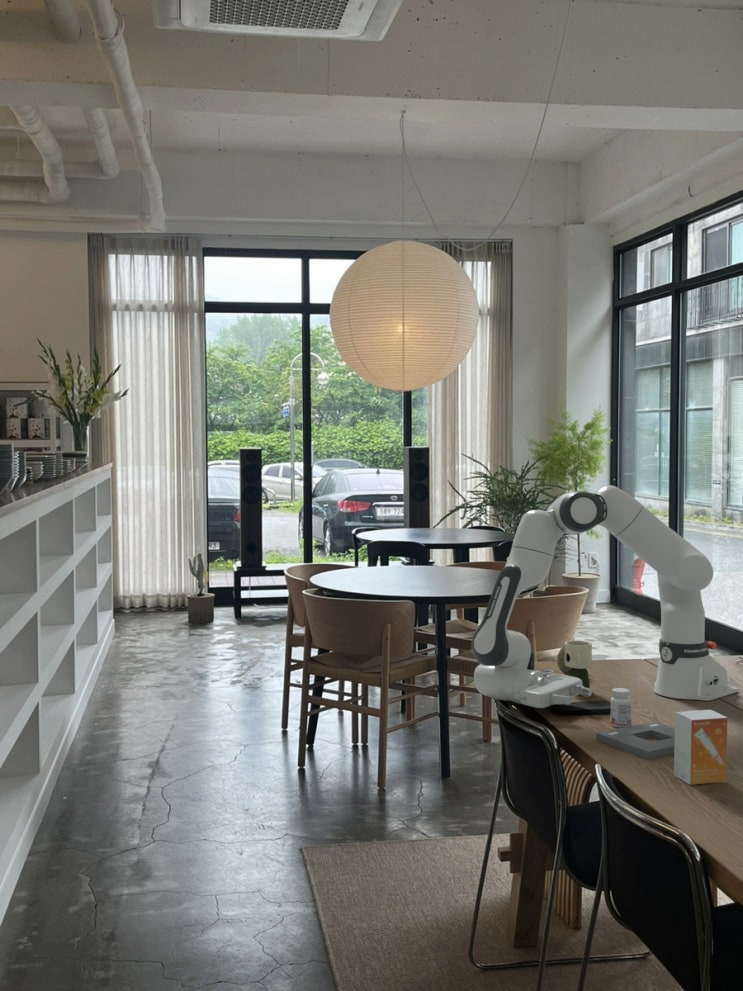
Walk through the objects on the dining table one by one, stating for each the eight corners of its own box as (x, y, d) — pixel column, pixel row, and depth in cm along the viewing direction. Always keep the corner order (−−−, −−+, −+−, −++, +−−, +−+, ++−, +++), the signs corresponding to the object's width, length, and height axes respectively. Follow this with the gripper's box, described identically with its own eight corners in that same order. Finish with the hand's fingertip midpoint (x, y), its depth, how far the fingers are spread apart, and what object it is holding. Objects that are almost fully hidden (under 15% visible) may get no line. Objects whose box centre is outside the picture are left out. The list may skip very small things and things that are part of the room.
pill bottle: (607, 722, 236) (607, 687, 235) (627, 722, 236) (627, 687, 236) (614, 728, 231) (614, 692, 231) (633, 727, 231) (634, 692, 231)
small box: (690, 786, 192) (691, 719, 191) (673, 775, 198) (673, 711, 197) (727, 782, 194) (728, 717, 193) (709, 772, 200) (710, 708, 199)
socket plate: (654, 728, 231) (654, 721, 231) (708, 746, 217) (708, 738, 217) (596, 739, 222) (596, 732, 222) (648, 759, 208) (648, 751, 208)
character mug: (563, 685, 272) (564, 638, 271) (590, 686, 271) (590, 639, 270) (565, 695, 261) (565, 646, 261) (592, 696, 260) (593, 647, 259)
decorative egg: (582, 673, 287) (582, 638, 286) (582, 678, 280) (582, 643, 279) (557, 671, 288) (557, 638, 288) (556, 677, 281) (556, 642, 281)
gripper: (509, 683, 241) (558, 692, 232) (552, 668, 257) (600, 676, 248) (509, 708, 242) (558, 718, 233) (552, 692, 257) (600, 701, 248)
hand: (580, 696), depth 240 cm, fingers open, 8 cm apart
